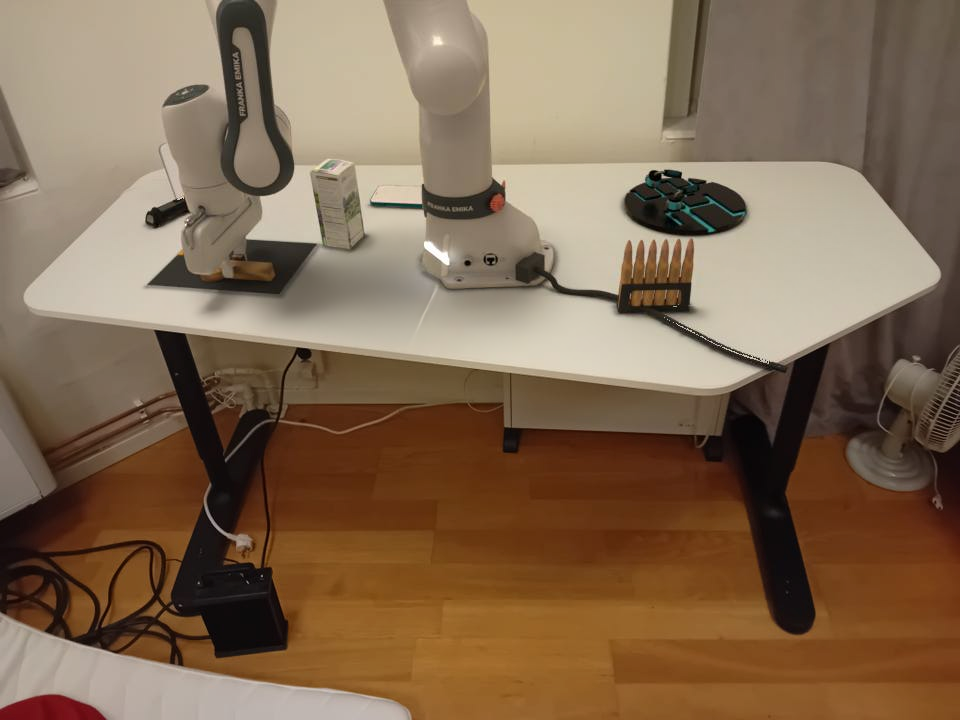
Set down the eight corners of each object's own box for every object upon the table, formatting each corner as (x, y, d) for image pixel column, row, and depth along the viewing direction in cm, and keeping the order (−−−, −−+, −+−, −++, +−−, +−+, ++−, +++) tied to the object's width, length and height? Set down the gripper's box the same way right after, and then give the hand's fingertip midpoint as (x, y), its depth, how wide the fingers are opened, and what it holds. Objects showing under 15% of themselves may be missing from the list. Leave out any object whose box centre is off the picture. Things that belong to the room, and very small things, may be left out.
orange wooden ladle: (279, 271, 127) (275, 258, 126) (267, 286, 124) (263, 272, 122) (209, 266, 130) (205, 253, 128) (196, 281, 126) (191, 267, 124)
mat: (317, 245, 135) (317, 243, 135) (279, 296, 122) (278, 293, 121) (196, 238, 139) (196, 235, 139) (147, 286, 126) (146, 284, 126)
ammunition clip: (617, 313, 113) (623, 243, 106) (616, 306, 115) (621, 237, 107) (689, 311, 113) (699, 241, 105) (686, 304, 114) (697, 234, 107)
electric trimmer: (222, 199, 153) (218, 185, 151) (155, 229, 143) (150, 213, 141) (211, 195, 154) (207, 181, 153) (144, 224, 145) (139, 209, 143)
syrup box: (338, 232, 138) (324, 157, 130) (366, 236, 137) (354, 160, 128) (322, 246, 134) (307, 170, 125) (351, 251, 133) (338, 174, 124)
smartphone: (456, 191, 150) (379, 188, 152) (456, 187, 149) (379, 184, 151) (449, 210, 144) (369, 206, 146) (449, 205, 143) (368, 202, 145)
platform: (700, 174, 151) (704, 143, 147) (770, 219, 134) (777, 186, 130) (603, 195, 145) (604, 164, 141) (664, 245, 129) (668, 211, 125)
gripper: (200, 225, 109) (224, 304, 117) (259, 168, 125) (277, 241, 133) (161, 223, 110) (188, 301, 119) (225, 166, 126) (245, 239, 134)
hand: (236, 269), depth 126 cm, fingers open, 3 cm apart
